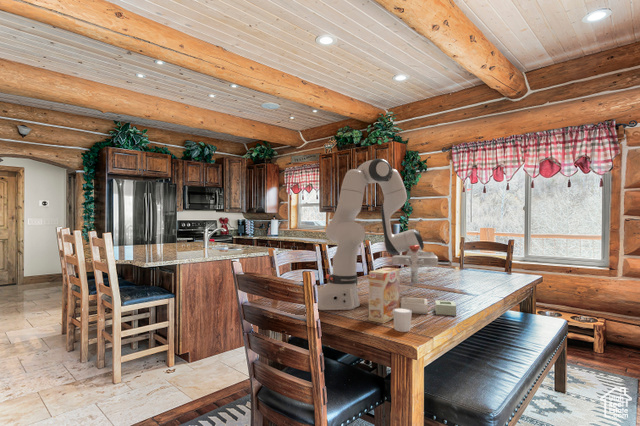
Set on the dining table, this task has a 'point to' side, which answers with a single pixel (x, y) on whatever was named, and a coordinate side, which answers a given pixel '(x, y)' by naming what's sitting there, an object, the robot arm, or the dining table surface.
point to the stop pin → (414, 263)
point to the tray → (415, 305)
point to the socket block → (445, 307)
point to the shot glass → (402, 319)
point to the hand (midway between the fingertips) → (414, 262)
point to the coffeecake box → (383, 294)
